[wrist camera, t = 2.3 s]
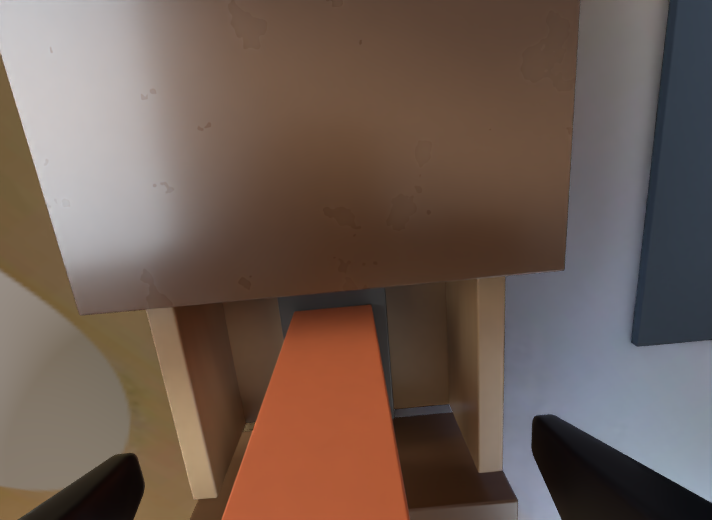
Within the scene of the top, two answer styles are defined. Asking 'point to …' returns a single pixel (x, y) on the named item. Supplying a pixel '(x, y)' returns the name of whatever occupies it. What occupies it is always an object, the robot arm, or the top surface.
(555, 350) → the top surface
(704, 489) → the top surface
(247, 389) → the drawer
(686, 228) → the mat
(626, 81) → the top surface
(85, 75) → the cabinet
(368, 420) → the stamp
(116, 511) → the robot arm
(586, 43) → the top surface
